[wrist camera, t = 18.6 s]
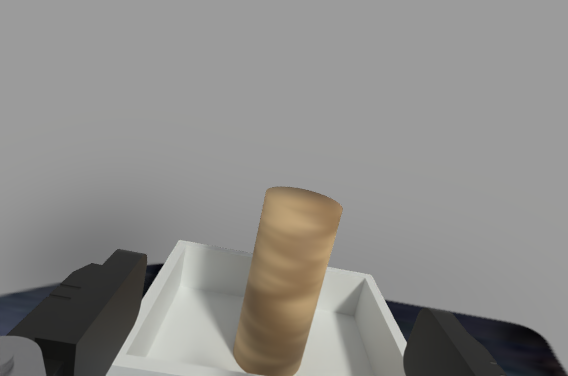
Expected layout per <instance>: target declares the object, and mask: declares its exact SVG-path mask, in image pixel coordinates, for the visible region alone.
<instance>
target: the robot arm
mask: <svg viewBox="0 0 568 376" xmlns="http://www.w3.org/2000/svg"><path fill="white" fill-rule="evenodd" d="M146 265H147V255H146V254H143V253H137V252H132V251H126V250H121V249H117V250H116V251H115V252H114V253H113V254H112V255H111V256H110V258H108V260H107V261H106V262H105V263H104V264H103V265H99V264H94V263H91V264H89V265H87V266H85V267H83V268H81V269H79V270H76V271H74V272H72V274H70V275H69V276H68V277H67V278H66V279H65V280H64V281H63V282H62V283H61V284H60V287H59V286H58V287H57V288H56V289H55V290H53V291H52V292H51V293H50V295H49V297H46V298H45V299H44V300H43V301H42V302H41V303H40V304H39V305H38V306H37V307H36V308H35V309H33V310H32V311H31V312H30V313H29V314H28V315H27V316H26V317H25V318H24V319H23V320H22V321H21V322H20V323H19V324H18V325H17V326H16V327H14V328H13V329H12V330H11V331H10V332H9V333H8V334H7V335H6V336H0V376H106V374H107V372H108V371H109V369H110V367H111V365H112V364H113V362H114V360H115V358H116V357H117V355H118V353H119V351H120V350H121V348H122V346H123V344H124V343H125V341H126V339H127V337H128V336H129V334H130V332H131V330H132V329H133V327H134V325H135V322H136V320H137V317H138V314H139V311H140V307H141V301H142V294H143V287H144V280H145V272H146ZM403 367H404V372H405V375H406V376H506V373H505V372H504V371H503V370H502V368H501V367H500V366H499V365H497V364H496V361H495V360H494V358H493V357H492V356H491V355H490V353H489V352H488V351H487V350H486V348H485V347H484V346H483V345H481V344H480V343H479V342H478V341H477V340H475V339H474V338H473V337H472V336H471V335H469V334H468V333H467V331H466V330H465V329H464V328H463V326H462V325H461V324H460V322H459V321H458V320H457V319H456V317H455V316H454V315H453V314H452V313H450V312H446V311H441V310H436V309H430V308H423V309H422V310H421V311H420V312H419V314H418V317H417V319H416V322H415V324H414V327H413V330H412V332H411V335H410V337H409V340H408V342H407V345H406V348H405V350H404V355H403Z"/></svg>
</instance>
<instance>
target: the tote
mask: <svg viewBox="0 0 568 376" xmlns="http://www.w3.org/2000/svg"><path fill="white" fill-rule="evenodd" d="M252 257H253V253H248V252H243V251H237V250H232V249H227V248H221V247H215V246H209V245H204V244H198V243H194V242H188V241H183V240H179V241H178V243H177V244H176V246H175V248H174V249H173V251H172V253H171V254H170V256H169V257H168V259H167V261H166V262H165V264H164V265H163V267H162V269H161V270H160V272H159V273H158V275H157V277H156V278H155V280H154V281H153V283H152V285H151V286H150V288H149V290H148V291H147V293H146V294H145V296H144V298H143V299H142V301H141V307H140V311H139V314H138V317H137V320H136V322H135V325H134V327H133V329H132V330H131V332H130V334H129V336H128V337H127V339H126V341H125V343H124V344H123V346H122V348H121V350H120V351H119V353H118V355H117V357H116V358H115V360H114V362H113V364H112V365H111V367H110V369H109V371H108V372H107V374H106V376H263V375H257V374H250V373H246V372H245V371H244V370H243V369H242V368H241V367H240V366H239V365H238V364H237V362H236V360H235V358H234V354H233V348H234V343H235V338H236V333H237V329H238V324H239V319H240V314H241V309H242V305H243V300H244V295H245V290H246V285H247V281H248V276H249V271H250V266H251V261H252ZM406 345H407V343H406V341H405V339H404V337H403V335H402V333H401V331H400V329H399V327H398V325H397V323H396V321H395V320H394V318H393V316H392V314H391V312H390V310H389V308H388V306H387V304H386V302H385V300H384V298H383V296H382V294H381V293H380V291H379V289H378V287H377V285H376V283H375V281H374V279H373V277H372V275H369V274H363V273H358V272H353V271H347V270H342V269H336V268H330V267H327V269H326V273H325V276H324V280H323V284H322V287H321V291H320V295H319V299H318V302H317V306H316V310H315V313H314V317H313V321H312V324H311V328H310V332H309V335H308V339H307V343H306V346H305V350H304V354H303V357H302V361H301V365H300V368H299V370H298V371H297V372H296V374H294V375H293V376H406V375H405V372H404V367H403V355H404V350H405V348H406Z"/></svg>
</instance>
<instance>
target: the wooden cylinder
mask: <svg viewBox="0 0 568 376" xmlns="http://www.w3.org/2000/svg"><path fill="white" fill-rule="evenodd" d="M342 210H343V208H342V206H341V205H340V204H339V203H338V202H336V201H335V200H333V199H331V198H329V197H327V196H324V195H321V194H319V193H316V192H312V191H309V190H304V189H300V188H292V187H272V188H269V189H267V191H266V194H265V199H264V204H263V209H262V213H261V218H260V223H259V228H258V233H257V237H256V242H255V247H254V252H253V257H252V261H251V266H250V271H249V276H248V281H247V285H246V290H245V295H244V300H243V305H242V309H241V314H240V319H239V324H238V329H237V333H236V338H235V343H234V348H233V354H234V358H235V360H236V362H237V364H238V365H239V366H240V367H241V368H242V369H243V370H244V371H245V372H246V373H250V374H257V375H263V376H293V375H294V374H296V372H297V371H298V370H299V368H300V365H301V361H302V357H303V354H304V350H305V346H306V343H307V339H308V335H309V332H310V328H311V324H312V321H313V317H314V313H315V310H316V306H317V302H318V299H319V295H320V291H321V287H322V284H323V280H324V276H325V273H326V269H327V265H328V262H329V258H330V254H331V251H332V247H333V243H334V239H335V236H336V232H337V228H338V225H339V221H340V217H341V214H342Z"/></svg>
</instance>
